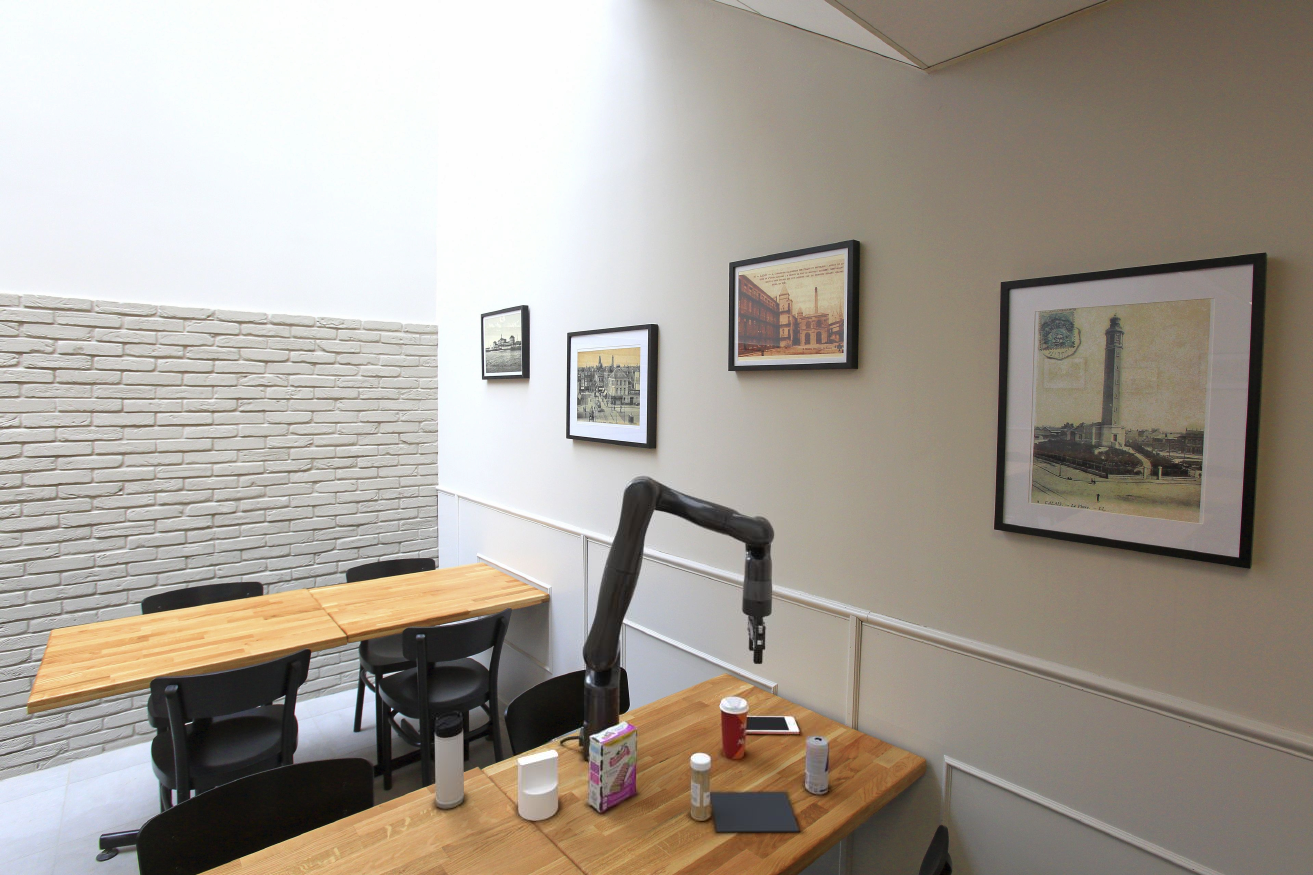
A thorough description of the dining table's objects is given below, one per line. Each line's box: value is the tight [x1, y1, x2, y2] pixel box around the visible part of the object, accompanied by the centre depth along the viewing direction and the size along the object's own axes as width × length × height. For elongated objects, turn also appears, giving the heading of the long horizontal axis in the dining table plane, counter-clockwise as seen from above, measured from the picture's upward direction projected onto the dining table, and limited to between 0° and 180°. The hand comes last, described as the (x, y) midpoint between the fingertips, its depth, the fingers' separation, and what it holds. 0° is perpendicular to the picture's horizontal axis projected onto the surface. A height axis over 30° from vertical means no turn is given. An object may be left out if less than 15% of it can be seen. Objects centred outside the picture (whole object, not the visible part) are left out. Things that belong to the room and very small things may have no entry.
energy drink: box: [804, 734, 830, 795], centre depth 157 cm, size 5×5×12 cm
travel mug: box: [434, 710, 465, 810], centre depth 152 cm, size 6×7×20 cm
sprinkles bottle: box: [690, 752, 712, 822], centre depth 147 cm, size 5×5×13 cm
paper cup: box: [719, 696, 750, 760], centre depth 173 cm, size 8×8×14 cm
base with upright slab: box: [517, 749, 559, 822], centre depth 149 cm, size 9×9×12 cm
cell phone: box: [746, 715, 800, 735], centre depth 187 cm, size 9×18×1 cm, turn 89°
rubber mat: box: [710, 791, 800, 834], centre depth 148 cm, size 18×14×1 cm
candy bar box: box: [587, 720, 638, 814], centre depth 152 cm, size 11×5×16 cm, turn 134°
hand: (755, 656), depth 168 cm, fingers open, 8 cm apart
